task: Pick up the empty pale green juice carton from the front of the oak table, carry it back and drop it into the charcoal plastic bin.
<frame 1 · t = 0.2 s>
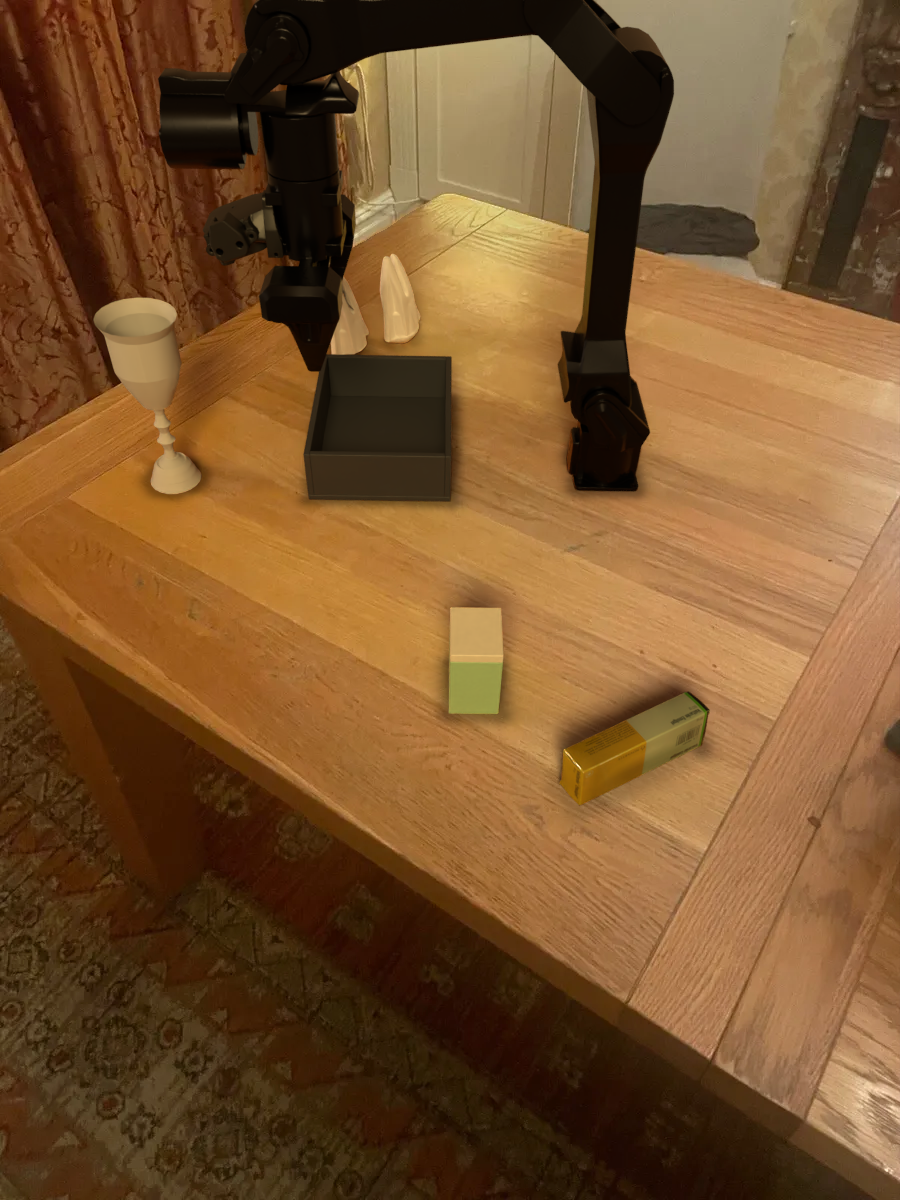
hand: (320, 343, 84), 15 cm above the table, tool pointing down, fingers open, 9 cm apart
shaker set: (377, 345, 112), on the table
bin: (384, 446, 97), on the table
juice carton: (473, 689, 74), on the table
medication box: (630, 764, 70), on the table
chalice: (176, 479, 93), on the table
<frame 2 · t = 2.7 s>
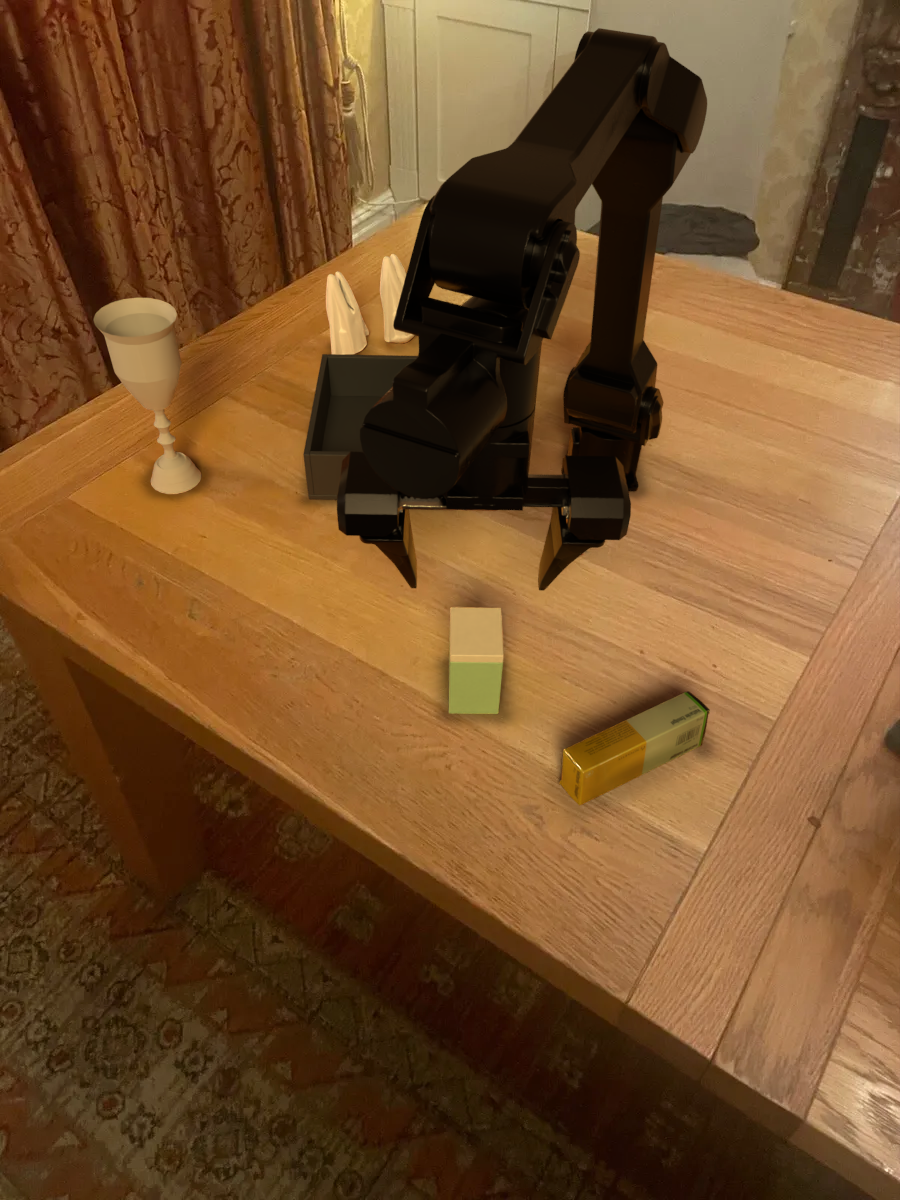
hand: (477, 585, 66), 12 cm above the table, tool pointing down, fingers open, 9 cm apart
nothing on the table moved.
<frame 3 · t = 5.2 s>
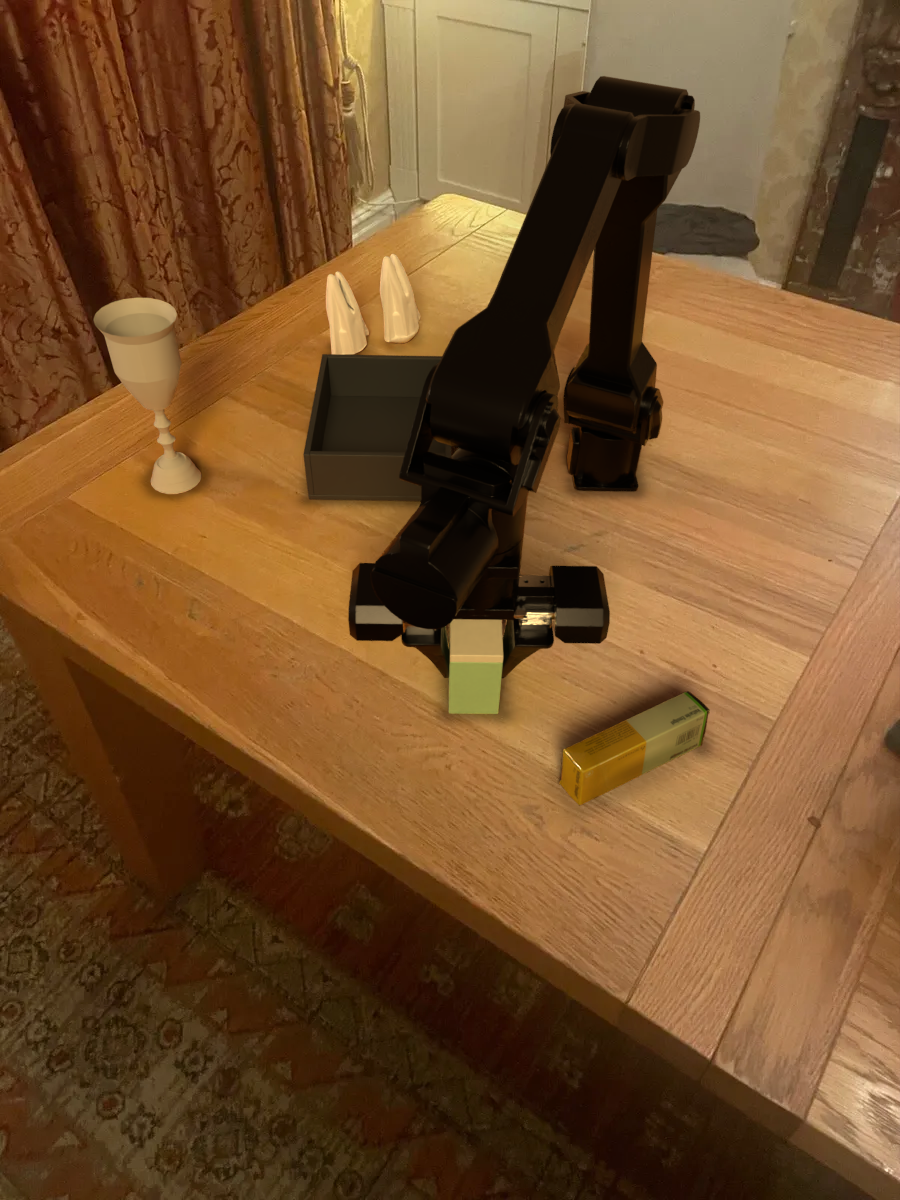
hand: (474, 673, 73), 2 cm above the table, tool pointing down, fingers closed on juice carton, 4 cm apart
juice carton: (472, 689, 74), on the table, touching gripper
everything else where it was.
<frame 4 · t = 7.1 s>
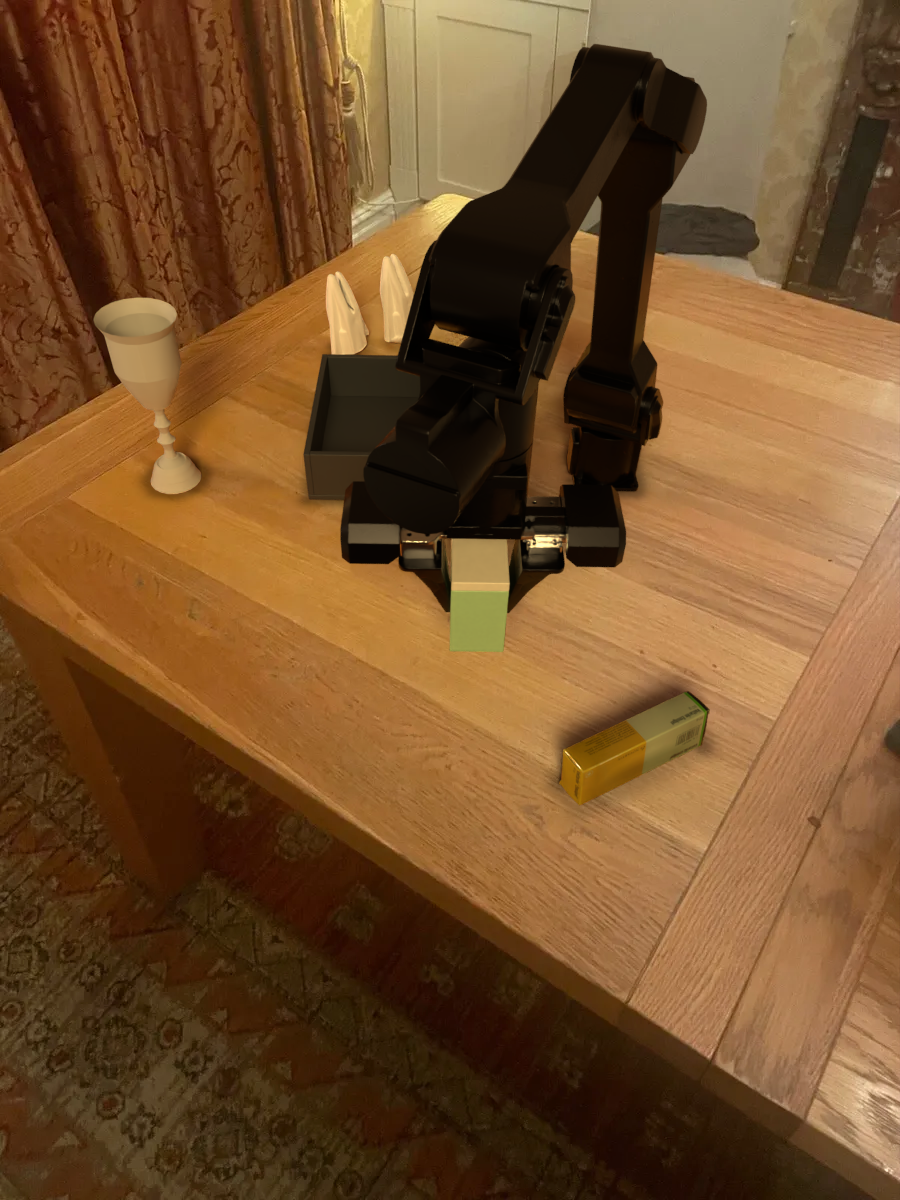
hand: (477, 608, 67), 10 cm above the table, tool pointing down, fingers closed on juice carton, 4 cm apart
juice carton: (475, 627, 69), point 8 cm above the table, touching gripper
everything else where it was.
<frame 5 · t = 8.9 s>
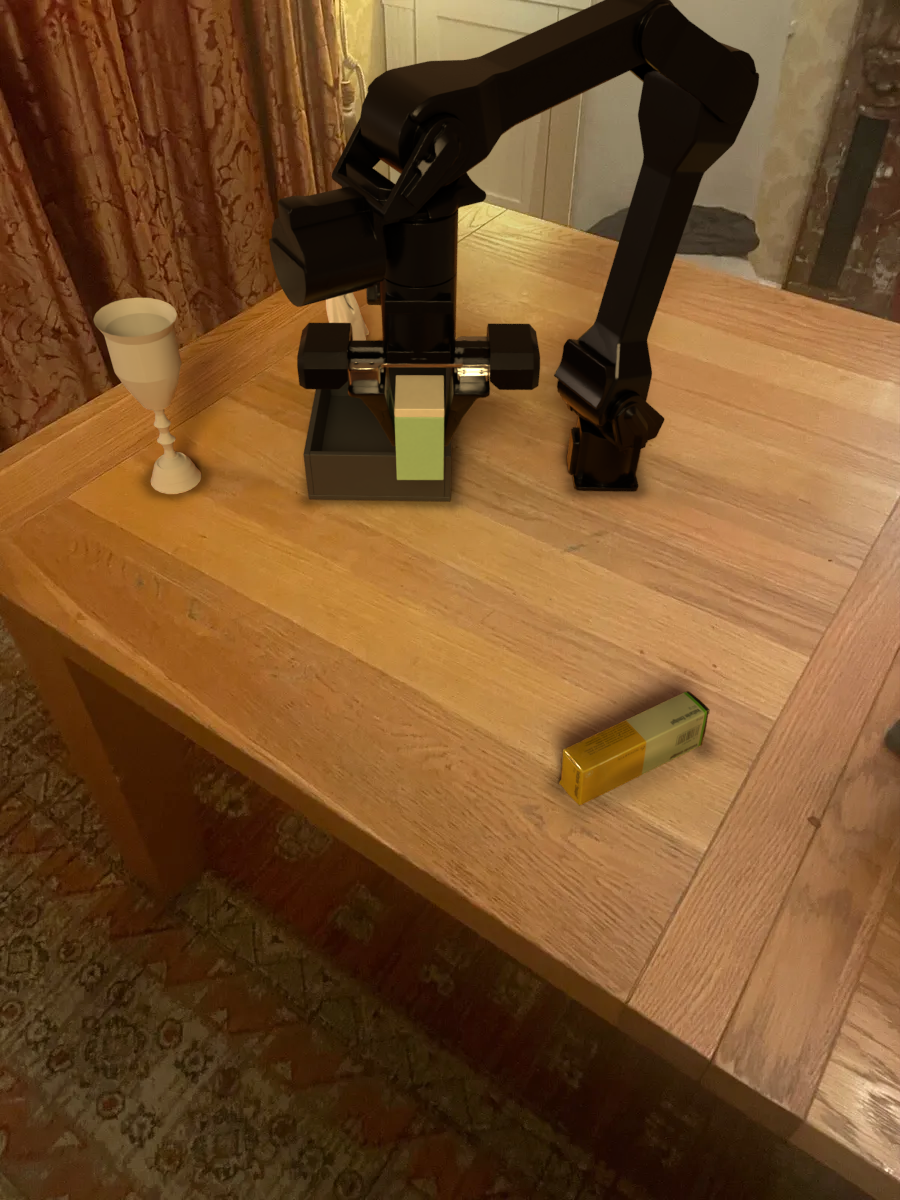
hand: (420, 443, 78), 12 cm above the table, tool pointing down, fingers closed on juice carton, 4 cm apart
juice carton: (420, 462, 79), point 10 cm above the table, touching gripper
everything else where it was.
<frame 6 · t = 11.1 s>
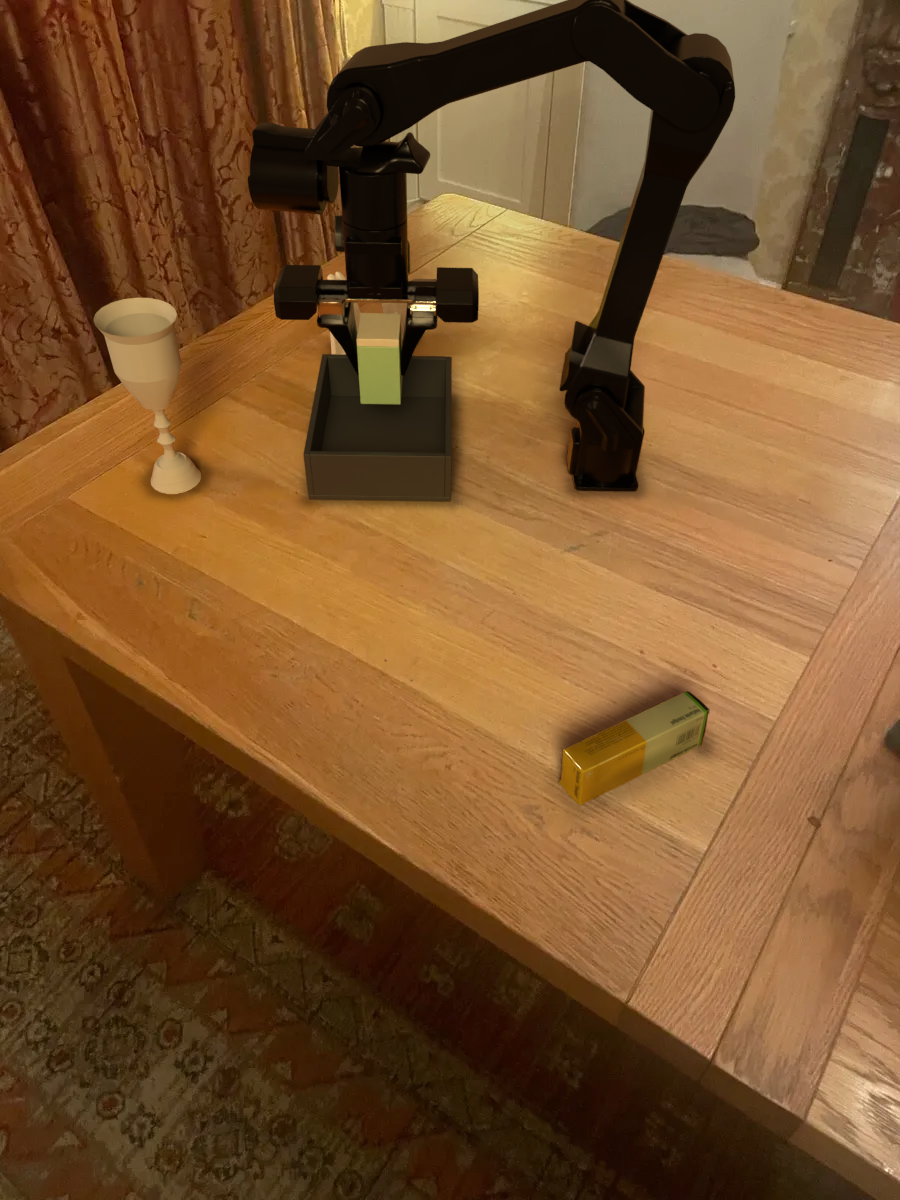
hand: (381, 373, 91), 9 cm above the table, tool pointing down, fingers closed on juice carton, 4 cm apart
juice carton: (382, 390, 92), point 7 cm above the table, touching gripper
everything else where it was.
when the fingers open (5 cm above the table, at t = 12.7 s): juice carton drops 2 cm, resting on bin.
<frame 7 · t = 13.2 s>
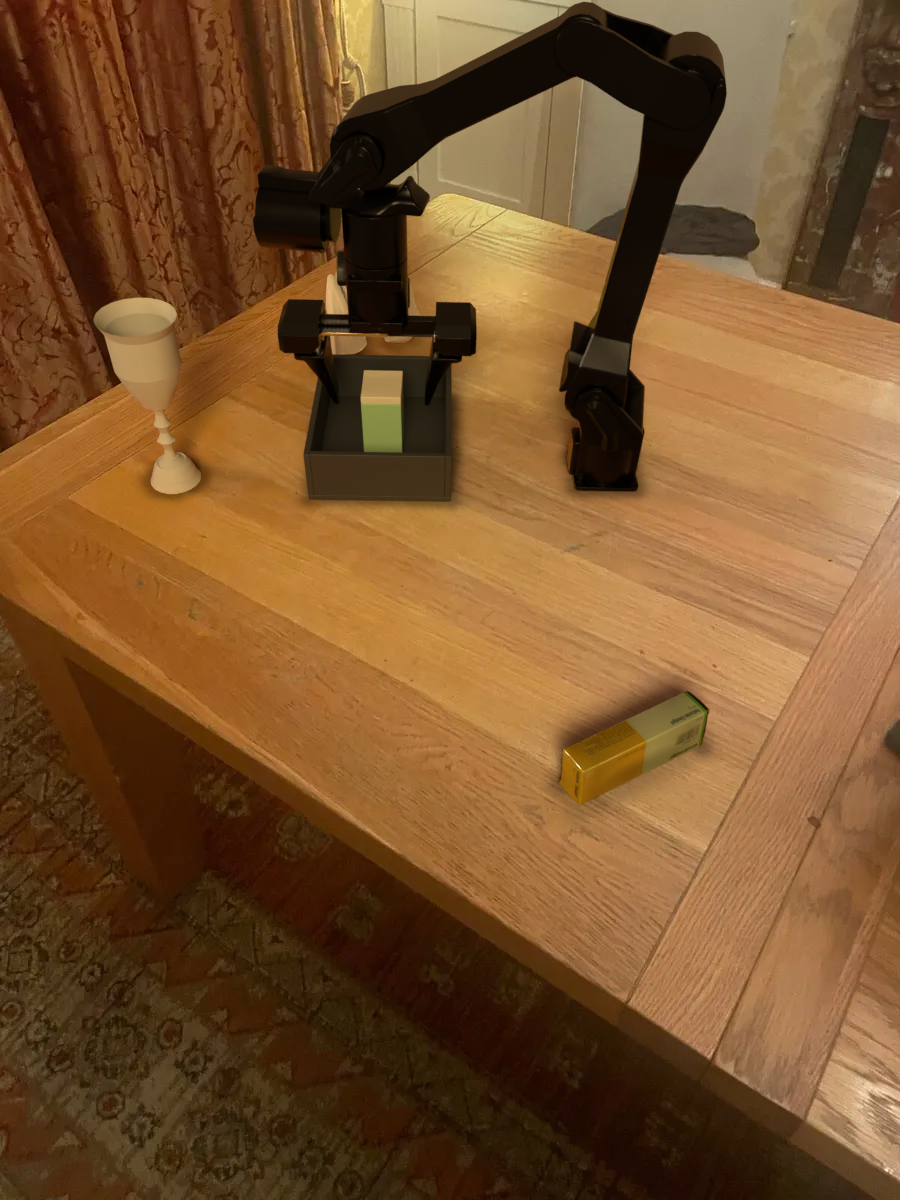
hand: (382, 402, 93), 6 cm above the table, tool pointing down, fingers open, 9 cm apart
juice carton: (384, 442, 97), point 1 cm above the table, touching bin
everything else where it was.
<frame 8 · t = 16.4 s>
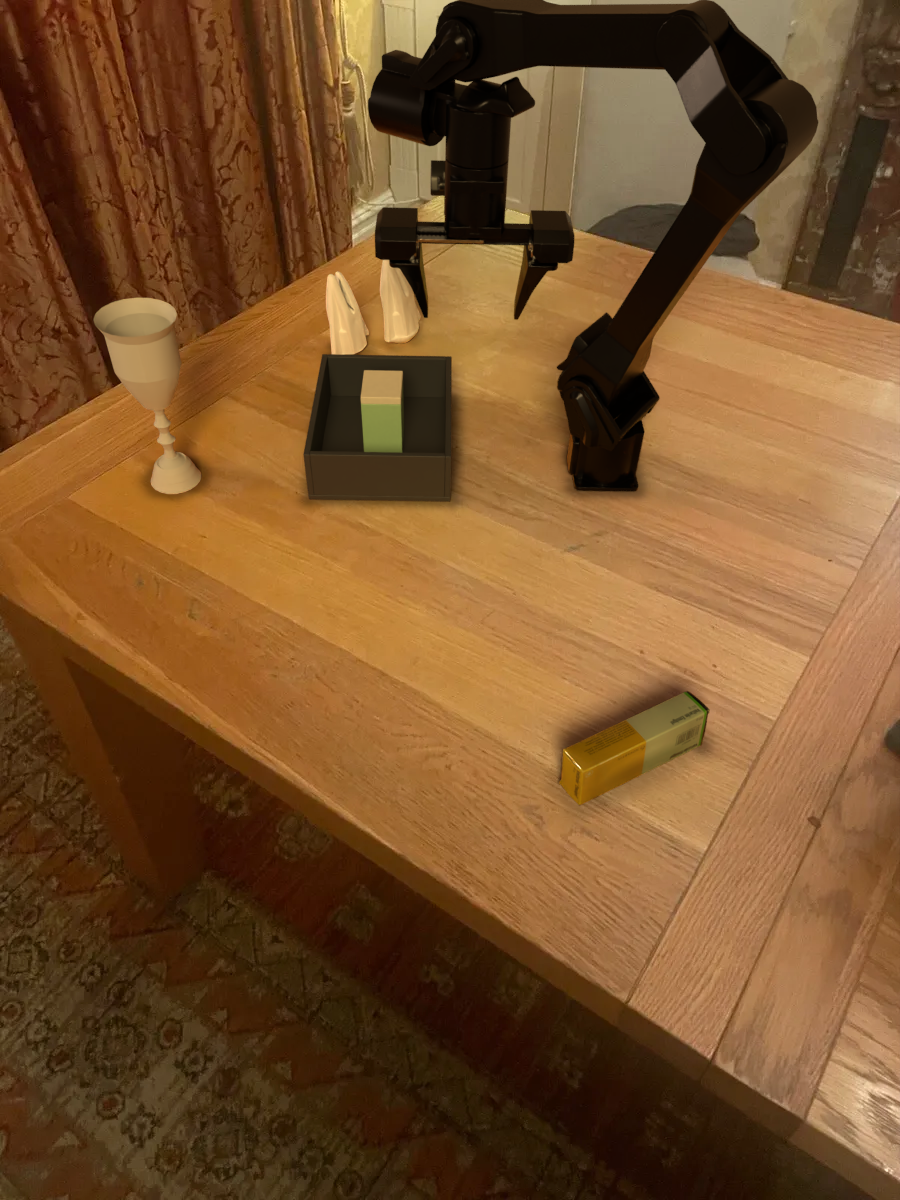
hand: (470, 316, 93), 12 cm above the table, tool pointing down, fingers open, 9 cm apart
nothing on the table moved.
at the end: juice carton inside the target area in the bin (0.1 cm from its centre), point 0.6 cm above the bin's base; the gripper is holding nothing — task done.
